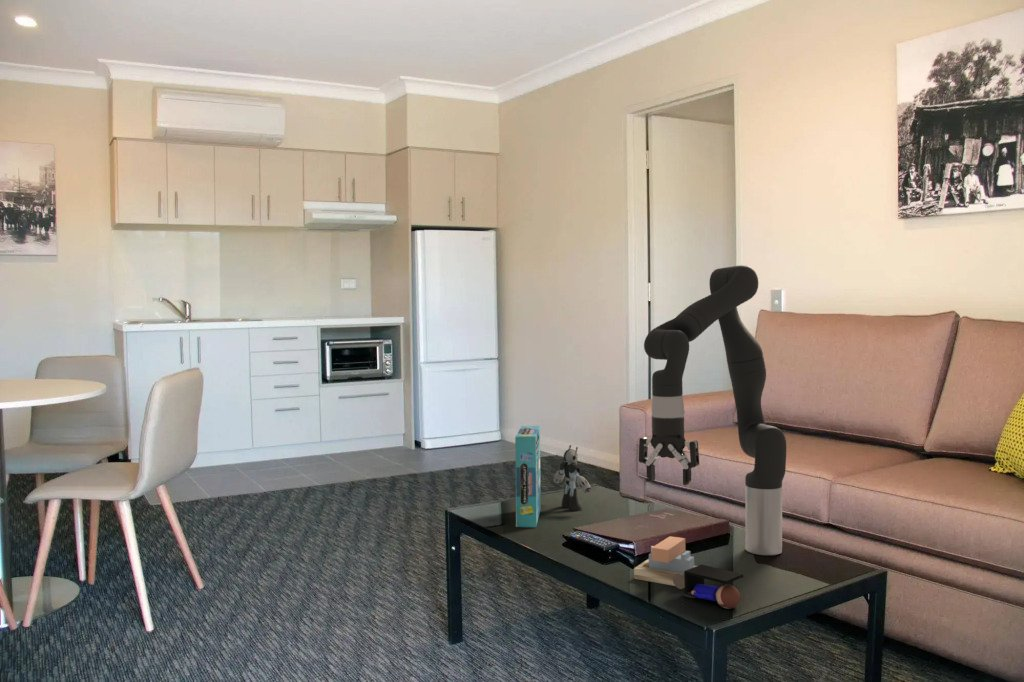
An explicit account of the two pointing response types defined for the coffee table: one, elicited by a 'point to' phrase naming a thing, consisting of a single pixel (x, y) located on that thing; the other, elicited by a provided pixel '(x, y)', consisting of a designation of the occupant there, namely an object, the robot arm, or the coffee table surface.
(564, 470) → the robot
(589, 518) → the coffee table surface
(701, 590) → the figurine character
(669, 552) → the orange rectangular block
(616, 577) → the coffee table surface
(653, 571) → the cradle
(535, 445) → the game box
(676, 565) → the grey toy brick
